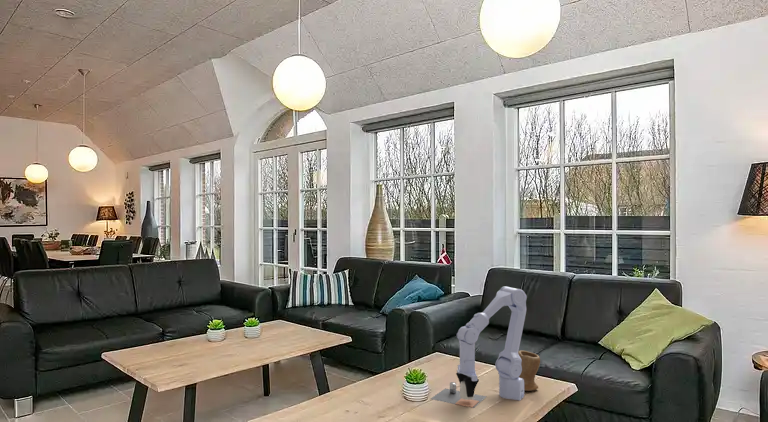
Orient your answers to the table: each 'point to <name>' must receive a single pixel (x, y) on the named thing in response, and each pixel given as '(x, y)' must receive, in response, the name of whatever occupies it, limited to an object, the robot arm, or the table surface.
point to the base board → (454, 397)
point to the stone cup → (529, 369)
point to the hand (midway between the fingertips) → (467, 394)
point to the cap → (464, 391)
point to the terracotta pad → (467, 402)
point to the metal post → (452, 388)
